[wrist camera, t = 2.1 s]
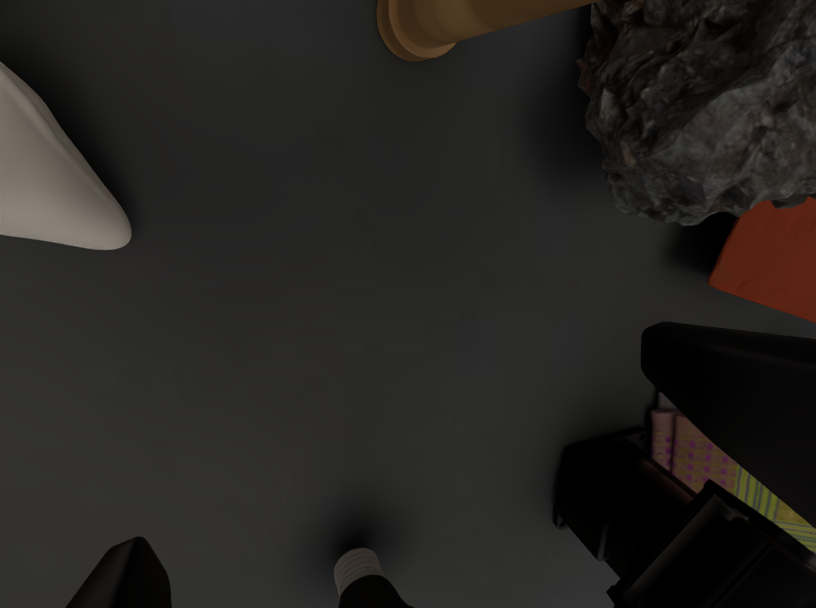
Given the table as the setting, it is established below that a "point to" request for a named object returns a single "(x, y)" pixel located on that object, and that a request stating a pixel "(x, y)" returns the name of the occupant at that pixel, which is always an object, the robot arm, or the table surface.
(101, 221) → the nose
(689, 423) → the dish towel
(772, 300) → the brick
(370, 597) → the light bulb
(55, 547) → the table surface
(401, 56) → the pestle
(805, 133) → the rock
